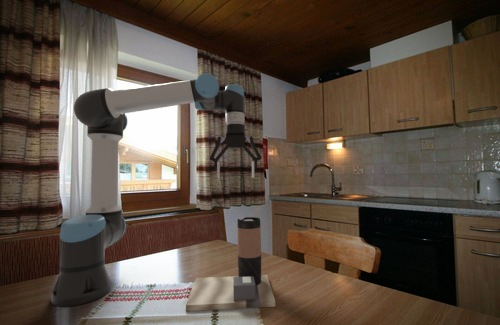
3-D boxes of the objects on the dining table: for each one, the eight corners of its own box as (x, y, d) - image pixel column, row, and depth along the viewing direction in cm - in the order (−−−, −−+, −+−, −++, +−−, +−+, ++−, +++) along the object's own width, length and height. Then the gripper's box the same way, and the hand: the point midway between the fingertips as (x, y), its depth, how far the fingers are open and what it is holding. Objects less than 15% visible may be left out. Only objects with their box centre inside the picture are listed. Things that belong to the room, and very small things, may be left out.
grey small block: (233, 300, 68) (233, 284, 68) (233, 290, 74) (233, 276, 74) (255, 299, 69) (255, 283, 69) (253, 289, 75) (253, 275, 75)
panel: (185, 311, 66) (185, 305, 66) (196, 282, 84) (196, 277, 84) (275, 306, 68) (275, 300, 68) (266, 279, 86) (266, 274, 86)
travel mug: (262, 286, 77) (260, 220, 78) (237, 287, 77) (236, 221, 78) (261, 276, 84) (260, 216, 85) (238, 277, 84) (237, 217, 86)
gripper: (202, 122, 95) (202, 179, 94) (267, 122, 96) (268, 177, 95) (204, 126, 102) (205, 178, 101) (265, 126, 104) (266, 177, 103)
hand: (236, 178), depth 98 cm, fingers open, 13 cm apart
